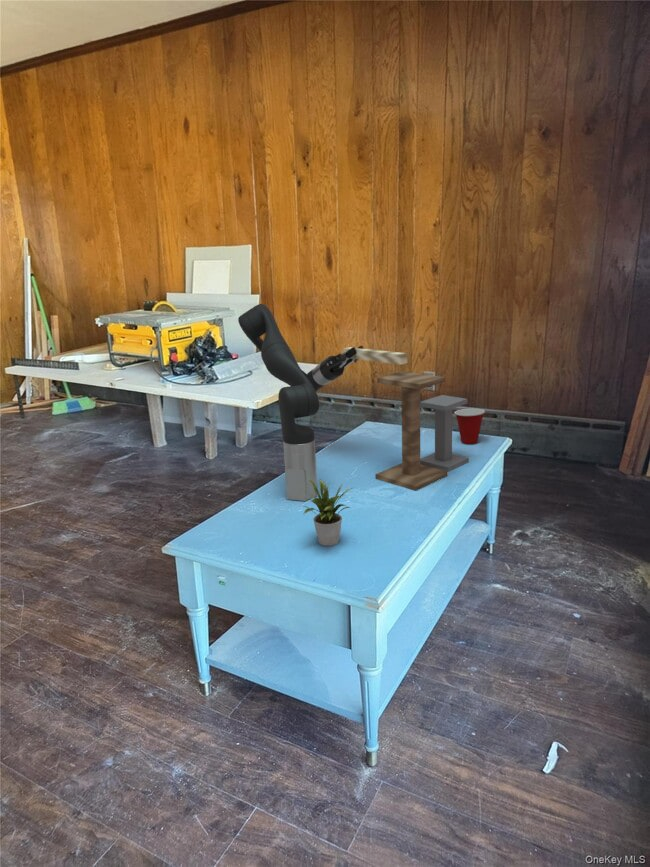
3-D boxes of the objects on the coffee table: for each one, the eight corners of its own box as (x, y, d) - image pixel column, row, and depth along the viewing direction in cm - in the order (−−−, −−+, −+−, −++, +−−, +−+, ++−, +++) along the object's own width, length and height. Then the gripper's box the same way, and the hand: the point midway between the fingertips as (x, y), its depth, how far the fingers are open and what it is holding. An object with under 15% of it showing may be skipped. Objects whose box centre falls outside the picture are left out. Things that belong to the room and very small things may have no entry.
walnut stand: (447, 475, 188) (448, 375, 179) (415, 490, 178) (415, 385, 168) (407, 465, 199) (406, 370, 190) (375, 478, 189) (372, 379, 180)
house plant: (284, 541, 150) (279, 480, 145) (323, 523, 159) (320, 465, 155) (323, 559, 140) (320, 495, 136) (363, 539, 149) (361, 478, 145)
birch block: (407, 363, 181) (407, 353, 180) (401, 364, 179) (400, 354, 178) (350, 356, 198) (349, 347, 197) (343, 357, 196) (343, 348, 195)
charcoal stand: (468, 462, 199) (470, 399, 193) (447, 471, 191) (448, 406, 185) (439, 454, 208) (439, 394, 201) (417, 463, 200) (417, 401, 194)
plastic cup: (466, 436, 227) (466, 405, 223) (490, 441, 219) (491, 410, 215) (447, 442, 220) (448, 411, 217) (471, 448, 212) (472, 416, 209)
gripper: (308, 364, 201) (339, 341, 188) (338, 357, 210) (369, 335, 197) (317, 384, 200) (348, 363, 187) (346, 377, 209) (378, 356, 196)
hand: (358, 349), depth 192 cm, fingers closed on birch block, 3 cm apart
